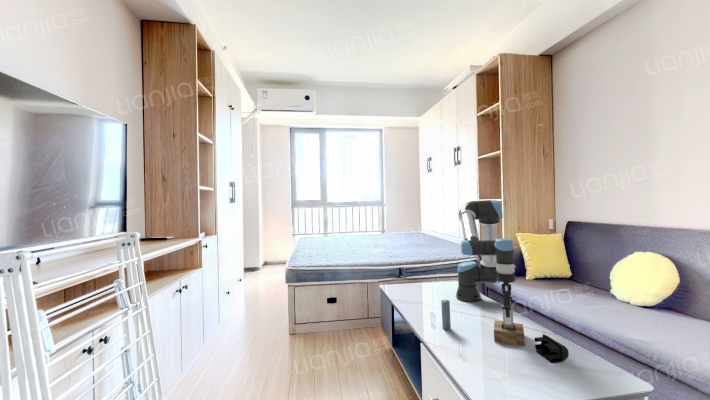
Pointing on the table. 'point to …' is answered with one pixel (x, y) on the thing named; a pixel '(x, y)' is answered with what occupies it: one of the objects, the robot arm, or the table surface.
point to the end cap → (551, 349)
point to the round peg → (446, 314)
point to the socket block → (509, 334)
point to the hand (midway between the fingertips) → (508, 318)
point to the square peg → (509, 326)
